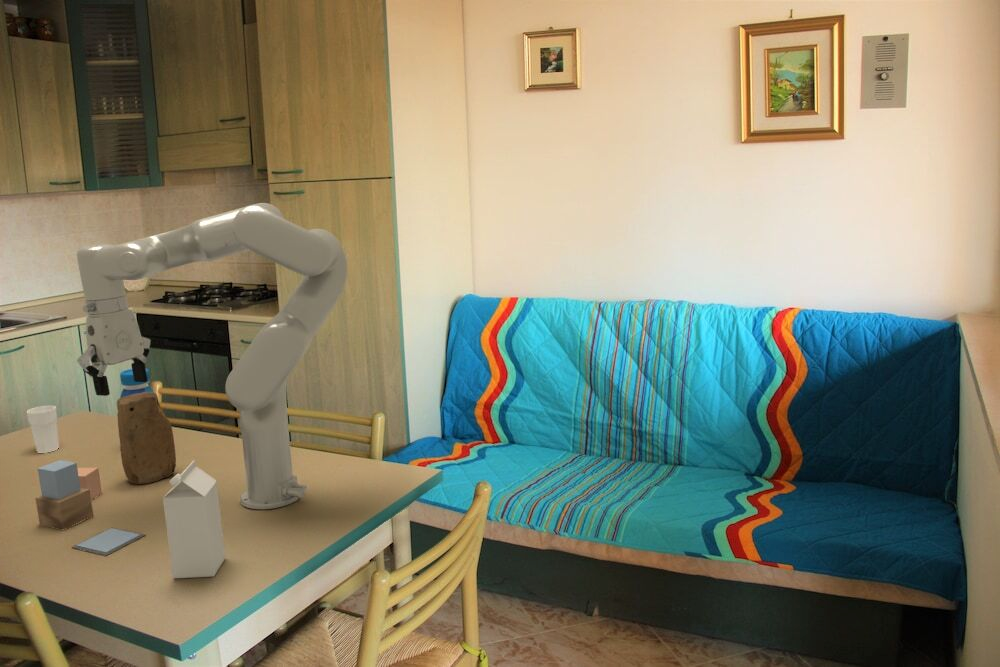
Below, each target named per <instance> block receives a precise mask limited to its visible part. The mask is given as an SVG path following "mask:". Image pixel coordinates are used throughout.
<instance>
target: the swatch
mask: <svg viewBox="0 0 1000 667" xmlns="http://www.w3.org/2000/svg"><path fill="white" fill-rule="evenodd" d="M104 531H105V532H104ZM104 531H101V532H100V534H99V533H98V534H96V535H94V536H92V537H89V538H90V539H89V538H88V539H86V540H83V541H81V542H79V543H77V544H75V545H73V546H71V549H73V548H77V549H76V550H78V549H81V550H80V551H82V550H85V551H84V552H86V551H90V552H93V553H92V554H95V553H97V554H96V555H99V554H101V555H100V556H103V555H107V556H109V555H111V554H113V553H115V552H117V551H119V550H120V548H121V547H123V548H125V547H126V546H128V545H130V544H132V543H133V541H134V542H136V541H137V539H138V540H139V538H140V539H141V537H142V538H144V537H145V536H144V535H146V533H145V534H144V533H140V532H136V531H131V530H126V529H122V528H117V527H110V528H107V529H106V530H104ZM143 536H144V537H143ZM135 540H136V541H135ZM131 542H132V543H131ZM129 543H130V544H129ZM125 545H126V546H125ZM124 546H125V547H124ZM118 549H119V550H118ZM121 549H122V548H121ZM116 550H117V551H116ZM114 551H115V552H114ZM90 552H89V553H90ZM112 552H113V553H112ZM110 553H111V554H110ZM108 554H109V555H108Z"/></svg>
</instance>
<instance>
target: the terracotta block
mask: <svg viewBox="0 0 1000 667" xmlns="http://www.w3.org/2000/svg"><path fill="white" fill-rule="evenodd" d="M77 469H78V476H79V483H80V488H84V489H89V490H90V496H91V500H92V499H93V498H94V499H95V497H96V496H97V497H98V495H99V494H100V495H101V494H102V493H103V492H102V486H101V479H100V471H99V467H77ZM100 495H99V496H100ZM97 497H96V498H97ZM94 499H93V500H94ZM93 500H92V501H93Z"/></svg>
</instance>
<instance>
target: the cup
mask: <svg viewBox="0 0 1000 667" xmlns="http://www.w3.org/2000/svg"><path fill="white" fill-rule="evenodd" d="M26 415H27V419H28V424H29V425H30V427H31V432H32V433H31V434H32V437H33V441H34V446H35V450H36V451H37V452H38V453H47V452H51V451H55V450H57V449H58V448H59V449H60V445H59V436H58V435H59V432H58V424H57V423H58V422H57V420H58V416H57V415H58V414H57V406H56V405H42V406H36V407H33V408H29V409H28V410H26ZM59 449H58V450H59ZM58 450H57V451H58ZM37 452H36V453H37ZM55 452H56V451H55ZM38 453H37V454H38ZM51 453H52V452H51ZM47 454H48V453H47Z"/></svg>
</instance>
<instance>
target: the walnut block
mask: <svg viewBox="0 0 1000 667" xmlns="http://www.w3.org/2000/svg"><path fill="white" fill-rule="evenodd" d="M80 490H81V491H79V492H76V493H74V494H72V495H69V496H67V497H65V498H62V499H60V500H57V499H52V498H47V497H42V494H41V495H39V496H37V497H35V504H36V510H37V515H38V516H37V517H38V522H39V523H38V524H39V526H42V525H43V526H44V527H47V526H48V528H51V527H54V528H53V529H56V528H58V529H57V530H61V529H65V528H67V529H69V528H71V527H70V526H72V525H74V524H76V523H78V522H80V521H82V520H84V519H87V518H89V517H91V516H93V517H94V511H93V504H92V501H91V496H90V490H89V489H84V488H80ZM91 518H92V517H91ZM89 519H90V518H89ZM87 520H88V519H87ZM84 521H85V520H84ZM82 522H83V521H82ZM80 523H81V522H80ZM78 524H79V523H78ZM76 525H77V524H76ZM43 526H42V527H43ZM74 526H75V525H74ZM68 527H69V528H68ZM72 527H73V526H72ZM65 530H66V529H65Z"/></svg>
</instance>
